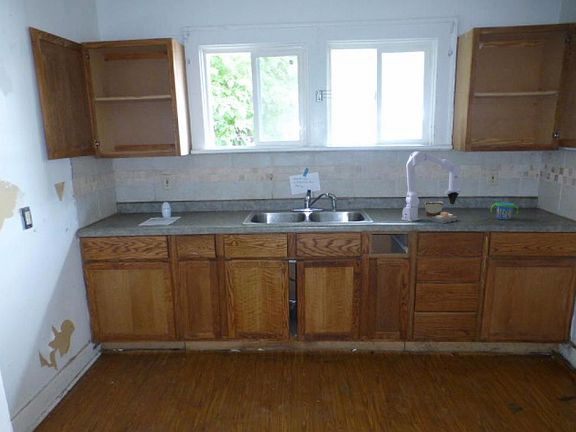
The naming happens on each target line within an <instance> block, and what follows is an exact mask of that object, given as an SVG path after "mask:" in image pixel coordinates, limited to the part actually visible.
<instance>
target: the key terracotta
mask: <svg viewBox="0 0 576 432" xmlns="http://www.w3.org/2000/svg"><path fill="white" fill-rule="evenodd" d="M448 214H450V212H446V211H441V214H440V215H441V216H444V218H447V217H448Z"/></svg>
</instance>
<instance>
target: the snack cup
mask: <svg viewBox="0 0 576 432" xmlns="http://www.w3.org/2000/svg"><path fill="white" fill-rule="evenodd" d="M494 206H495V208H496V210H495V211H496V219H498V220H501V221H502V220H503V221H504V220H505V221H508V220H511V216H512V214H513V210H514V208H516V209H517V210H516V213H515V214H516V216H517V215H518V214H519V208H518V206H517V205H515V203H511V202H495V203H493V204H492V205H491V207H490V213H491V214H493V212H492V211H493V207H494Z"/></svg>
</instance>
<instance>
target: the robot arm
mask: <svg viewBox="0 0 576 432" xmlns="http://www.w3.org/2000/svg"><path fill="white" fill-rule="evenodd" d="M425 161H429V162H431V163H434V164H437V165H438V167H439V168H440V169H443V170H445V171H446V172H448V173H449V176H448V177H449V179H448V189H446V190H444V195H447V197H448V200H449V204H450V205H455V204H456V200H457V198H458V196H459V193H462V189H461V188H459V184H460V183H459V182H460V181H459V180H460V174H461V171H462V168H461V166H460V165H459V164H455V162H451V161H450V160H449V159H447V158H443V159H440V158H438V157H436V156H434V155H432V154H430V153H427V152H423V151H418V150H417V151H413V152H412V153H410V154H409V158H408V160H407V162H406V164H405V165H406V182H407V184H406V185H407V192H406V197H405V203H406V206H405V207H403V209H402V217H401V220H404V221H408V222H414V221H419V220H420V221H421V218H418V213H419V211H418V210H419V205H420V199H419V196H418V192H417V182H416V167H417V166H418V164H420V163H422V162H425Z"/></svg>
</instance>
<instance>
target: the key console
mask: <svg viewBox="0 0 576 432" xmlns="http://www.w3.org/2000/svg"><path fill="white" fill-rule="evenodd" d="M458 218H459V217H458V216H456V215H455V216H454V215H453V216H452V217H447V218H442V219H439V218H436V216H435V217H430V222H433V223H438V222H439V224H447V222H448V223H452V222H451V221H453V222H457V221H458ZM456 220H457V221H456Z"/></svg>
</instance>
